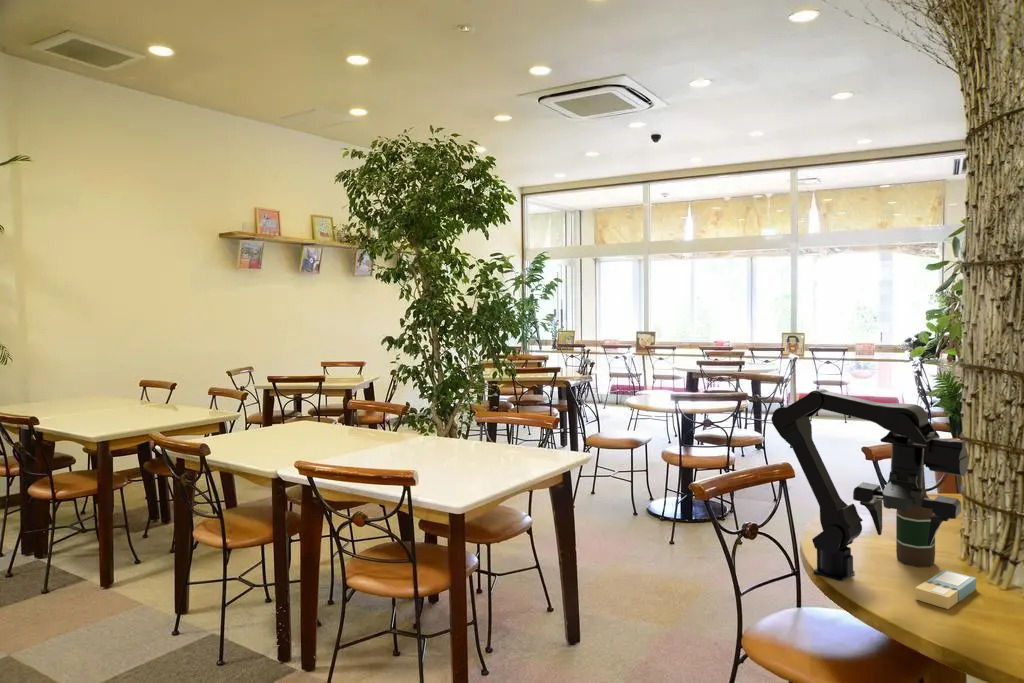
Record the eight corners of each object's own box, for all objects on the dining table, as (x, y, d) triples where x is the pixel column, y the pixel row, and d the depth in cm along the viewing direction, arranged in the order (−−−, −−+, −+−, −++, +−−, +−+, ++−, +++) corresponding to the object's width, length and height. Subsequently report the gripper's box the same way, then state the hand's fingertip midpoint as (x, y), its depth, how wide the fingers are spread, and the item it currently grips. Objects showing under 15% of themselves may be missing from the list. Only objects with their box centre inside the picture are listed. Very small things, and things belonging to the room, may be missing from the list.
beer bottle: (912, 553, 165) (912, 453, 163) (943, 564, 158) (943, 460, 156) (888, 558, 162) (888, 457, 161) (918, 570, 155) (919, 464, 153)
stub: (915, 599, 140) (915, 587, 140) (925, 592, 143) (925, 580, 143) (948, 609, 136) (948, 596, 135) (957, 602, 138) (957, 589, 138)
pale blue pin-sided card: (926, 592, 144) (926, 580, 143) (944, 580, 149) (944, 569, 149) (959, 601, 139) (959, 589, 139) (975, 589, 144) (976, 577, 144)
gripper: (845, 466, 142) (843, 540, 144) (951, 483, 130) (947, 564, 131) (862, 456, 151) (860, 525, 152) (963, 471, 138) (959, 547, 139)
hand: (903, 540), depth 143 cm, fingers open, 9 cm apart
